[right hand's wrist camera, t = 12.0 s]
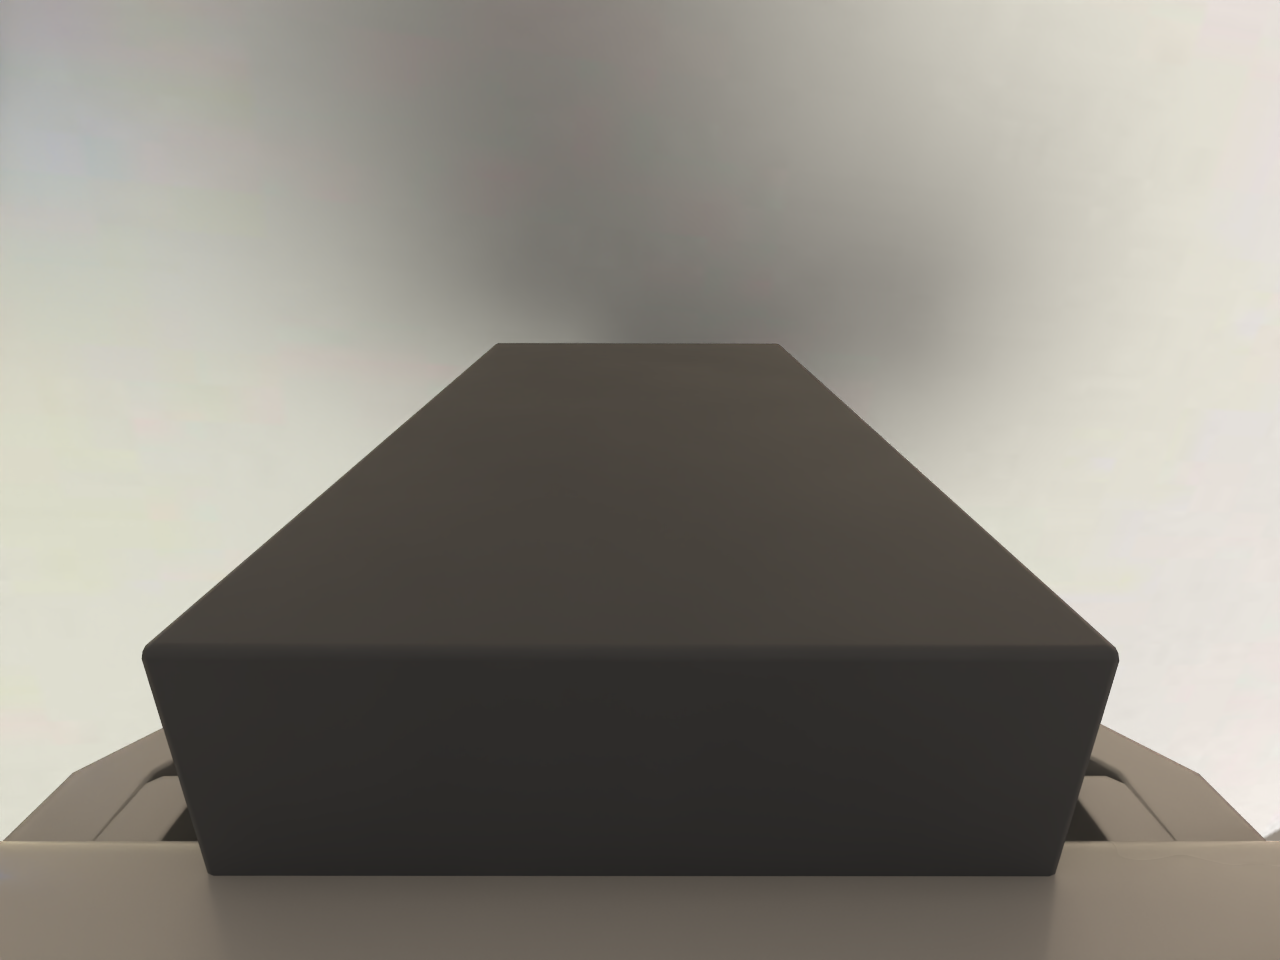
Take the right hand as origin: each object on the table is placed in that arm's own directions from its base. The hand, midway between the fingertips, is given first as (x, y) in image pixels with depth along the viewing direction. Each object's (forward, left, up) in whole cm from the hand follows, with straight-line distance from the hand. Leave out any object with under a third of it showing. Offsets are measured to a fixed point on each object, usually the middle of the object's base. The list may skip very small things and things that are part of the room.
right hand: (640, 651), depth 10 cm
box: (+7, +1, -6) cm, 9 cm away
